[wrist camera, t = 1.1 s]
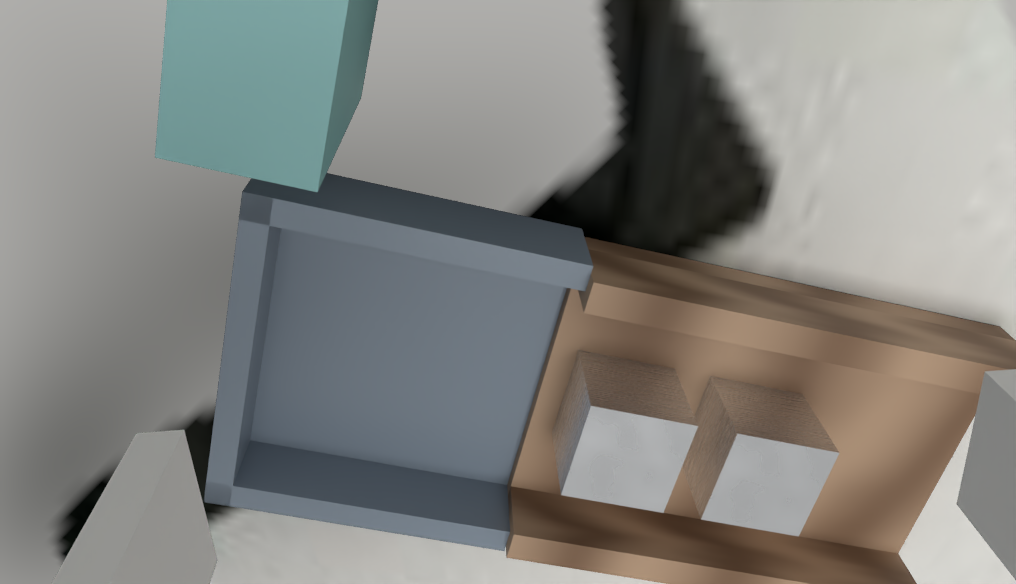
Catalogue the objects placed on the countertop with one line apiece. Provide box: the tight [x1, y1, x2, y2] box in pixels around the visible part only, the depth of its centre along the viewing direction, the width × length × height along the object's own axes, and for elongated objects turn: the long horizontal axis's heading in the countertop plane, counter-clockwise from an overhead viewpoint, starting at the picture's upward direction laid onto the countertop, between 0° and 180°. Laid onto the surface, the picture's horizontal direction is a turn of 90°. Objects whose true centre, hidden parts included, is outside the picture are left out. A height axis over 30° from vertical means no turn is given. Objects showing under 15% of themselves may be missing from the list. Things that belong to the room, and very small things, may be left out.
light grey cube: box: [682, 376, 839, 536], centre depth 35 cm, size 4×4×4 cm
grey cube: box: [552, 350, 698, 513], centre depth 34 cm, size 4×4×4 cm
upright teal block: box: [155, 0, 378, 192], centre depth 25 cm, size 4×7×10 cm, turn 166°
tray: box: [204, 173, 593, 551], centre depth 34 cm, size 12×13×4 cm
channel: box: [506, 237, 1016, 584], centre depth 36 cm, size 18×12×4 cm
